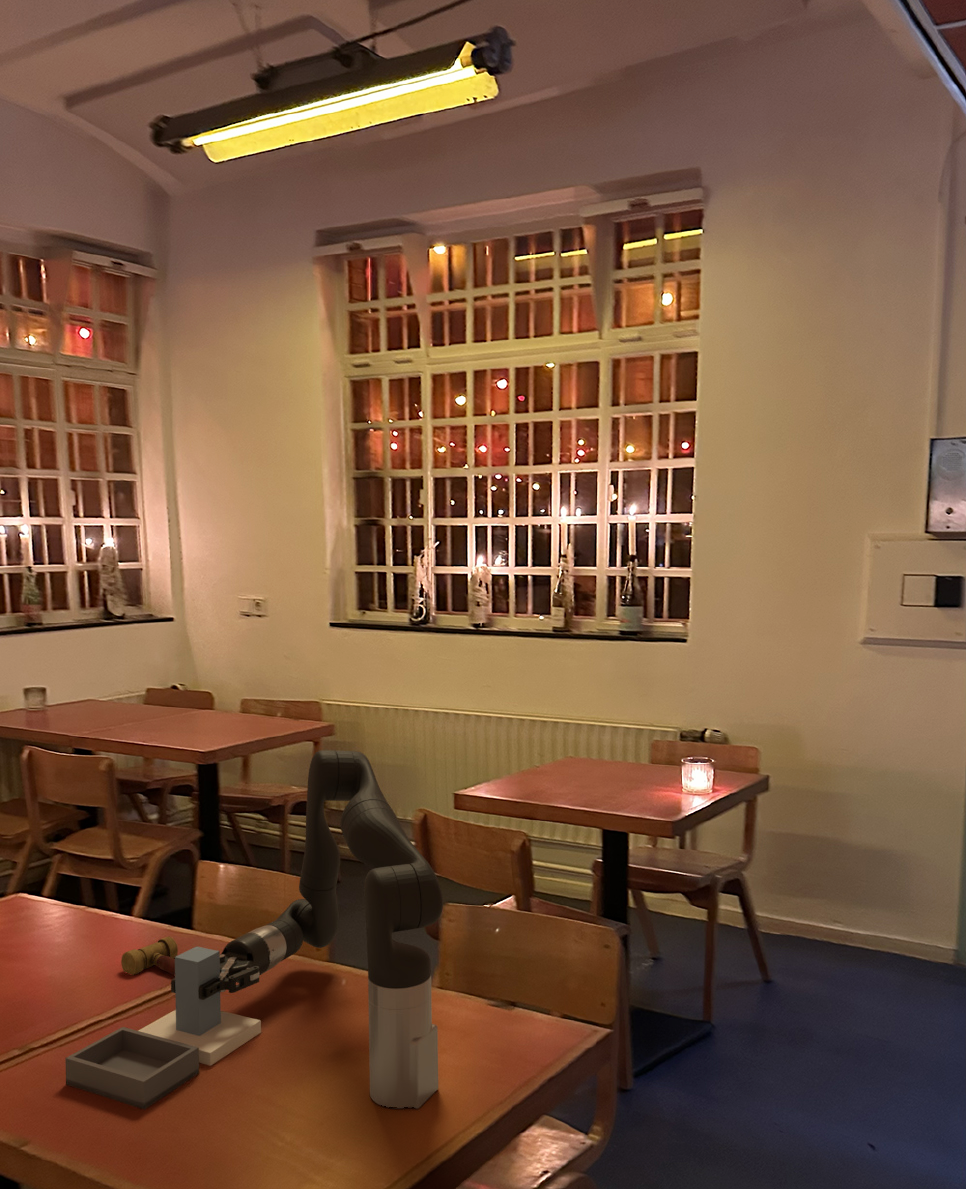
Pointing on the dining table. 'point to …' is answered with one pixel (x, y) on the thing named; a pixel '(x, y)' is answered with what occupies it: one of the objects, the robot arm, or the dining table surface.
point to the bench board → (209, 1035)
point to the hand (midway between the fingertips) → (186, 990)
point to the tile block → (196, 990)
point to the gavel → (151, 957)
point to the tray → (132, 1067)
